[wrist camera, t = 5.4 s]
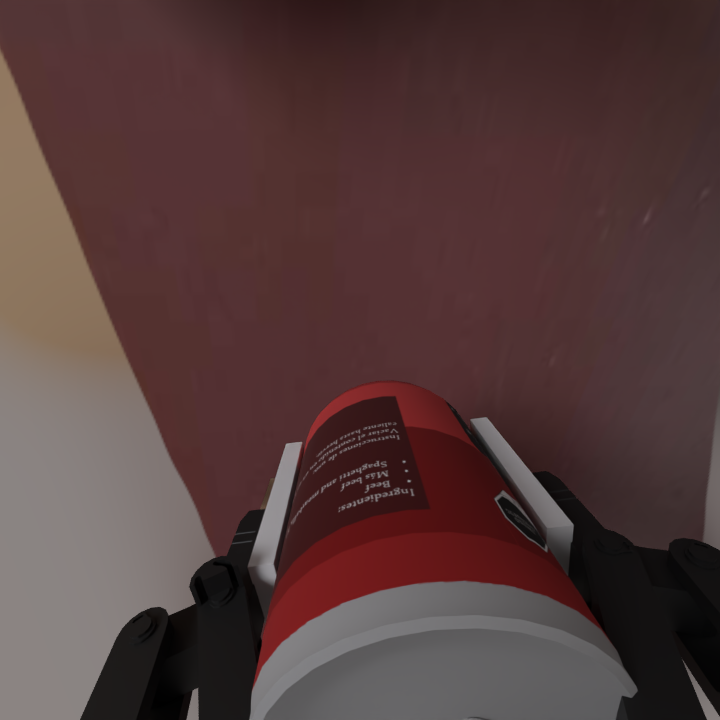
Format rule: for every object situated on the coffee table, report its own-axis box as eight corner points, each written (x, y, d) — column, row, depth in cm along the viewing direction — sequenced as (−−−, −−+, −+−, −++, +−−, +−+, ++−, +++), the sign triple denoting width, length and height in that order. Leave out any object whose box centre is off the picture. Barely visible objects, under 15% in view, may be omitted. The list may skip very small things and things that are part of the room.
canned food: (444, 518, 19) (567, 865, 8) (296, 499, 18) (224, 851, 7) (486, 389, 16) (732, 643, 6) (319, 361, 16) (260, 592, 5)
